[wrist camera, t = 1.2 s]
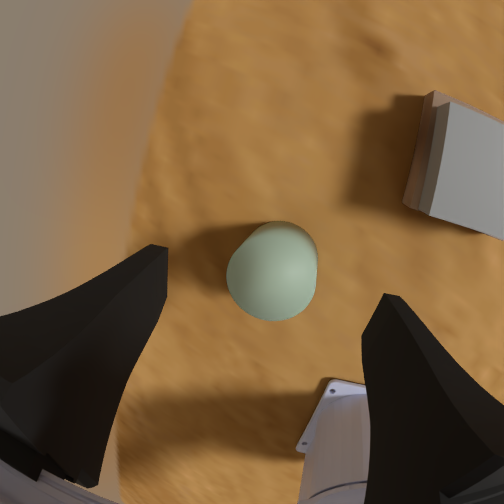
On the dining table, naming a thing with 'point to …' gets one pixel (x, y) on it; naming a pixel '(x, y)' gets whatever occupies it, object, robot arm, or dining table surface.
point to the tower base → (429, 146)
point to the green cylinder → (274, 271)
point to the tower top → (466, 171)
